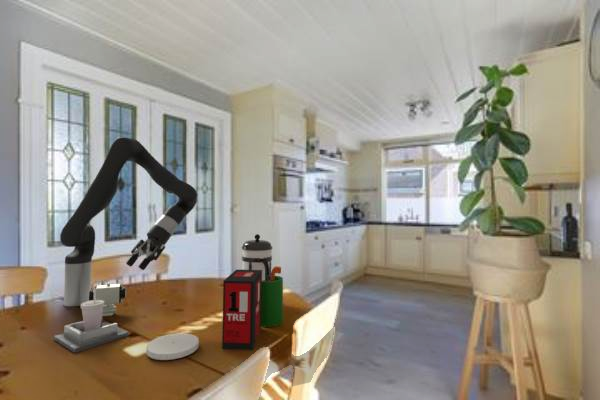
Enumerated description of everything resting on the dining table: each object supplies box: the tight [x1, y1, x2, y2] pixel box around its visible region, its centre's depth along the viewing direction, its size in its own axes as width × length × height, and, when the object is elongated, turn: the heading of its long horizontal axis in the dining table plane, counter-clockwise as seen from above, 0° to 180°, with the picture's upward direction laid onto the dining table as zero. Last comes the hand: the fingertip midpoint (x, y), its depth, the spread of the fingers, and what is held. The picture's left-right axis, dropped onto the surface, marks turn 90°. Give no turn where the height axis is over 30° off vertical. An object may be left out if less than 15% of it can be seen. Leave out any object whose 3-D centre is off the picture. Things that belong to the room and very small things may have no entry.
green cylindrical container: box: [261, 266, 284, 328], centre depth 117 cm, size 10×9×20 cm
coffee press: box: [241, 233, 273, 281], centre depth 133 cm, size 17×16×30 cm
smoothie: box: [80, 287, 104, 331], centre depth 101 cm, size 6×6×14 cm
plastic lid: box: [145, 332, 200, 361], centre depth 93 cm, size 14×14×2 cm
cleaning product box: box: [221, 269, 262, 351], centre depth 102 cm, size 16×9×20 cm, turn 178°
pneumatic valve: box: [89, 282, 127, 318], centre depth 121 cm, size 6×12×12 cm, turn 115°
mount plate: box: [53, 317, 129, 354], centre depth 100 cm, size 15×15×4 cm
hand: (134, 267), depth 113 cm, fingers open, 8 cm apart
